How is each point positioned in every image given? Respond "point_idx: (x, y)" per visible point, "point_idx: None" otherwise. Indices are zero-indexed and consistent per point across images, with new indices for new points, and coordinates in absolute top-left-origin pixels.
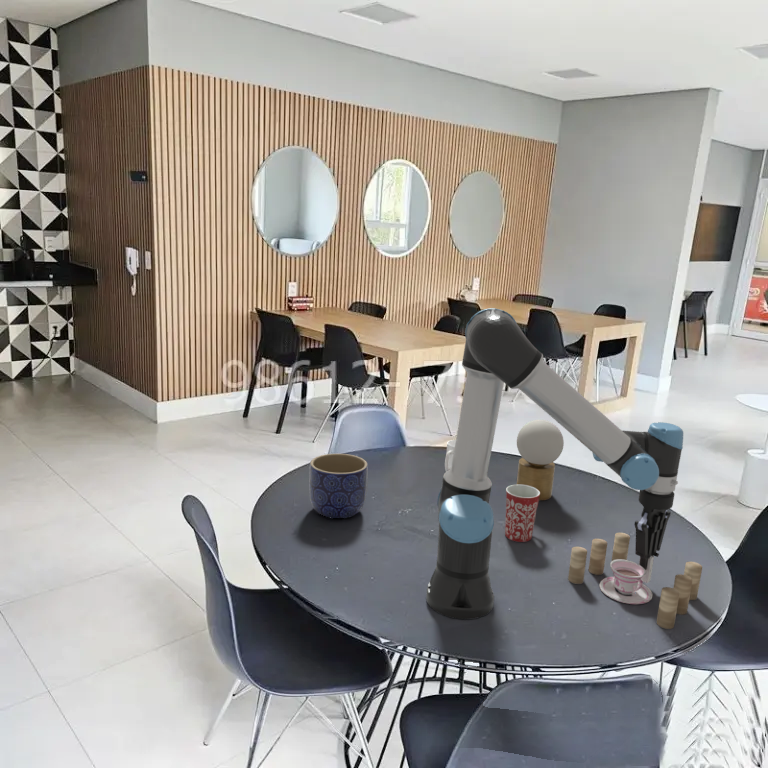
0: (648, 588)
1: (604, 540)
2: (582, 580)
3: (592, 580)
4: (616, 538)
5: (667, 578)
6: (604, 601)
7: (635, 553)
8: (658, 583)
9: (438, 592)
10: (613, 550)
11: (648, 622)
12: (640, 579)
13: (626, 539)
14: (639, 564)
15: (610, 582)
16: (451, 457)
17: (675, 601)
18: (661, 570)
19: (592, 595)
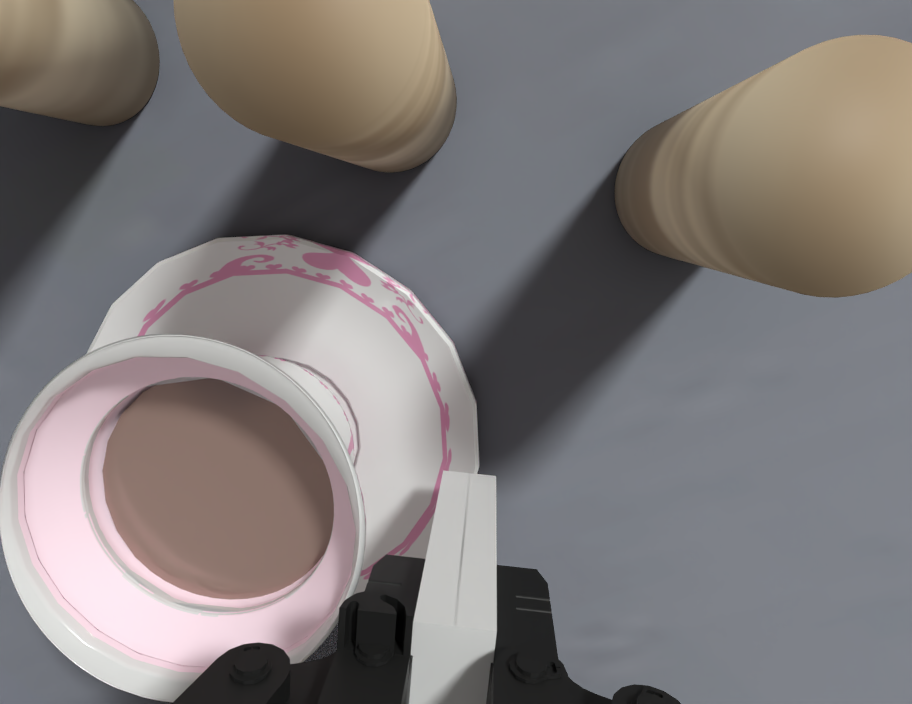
0: None
1: (416, 36)
2: (82, 122)
3: (216, 165)
4: (722, 119)
5: (743, 581)
6: (18, 389)
7: (222, 655)
8: (605, 561)
9: None
10: (681, 117)
11: (48, 690)
12: (252, 606)
13: (759, 277)
14: (373, 579)
15: (301, 295)
16: None
17: None
18: (853, 501)
19: (11, 285)
